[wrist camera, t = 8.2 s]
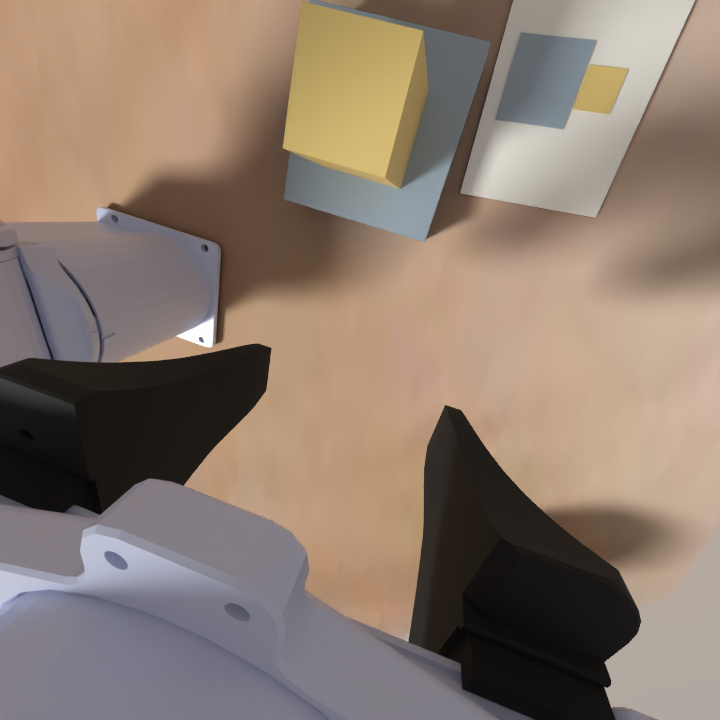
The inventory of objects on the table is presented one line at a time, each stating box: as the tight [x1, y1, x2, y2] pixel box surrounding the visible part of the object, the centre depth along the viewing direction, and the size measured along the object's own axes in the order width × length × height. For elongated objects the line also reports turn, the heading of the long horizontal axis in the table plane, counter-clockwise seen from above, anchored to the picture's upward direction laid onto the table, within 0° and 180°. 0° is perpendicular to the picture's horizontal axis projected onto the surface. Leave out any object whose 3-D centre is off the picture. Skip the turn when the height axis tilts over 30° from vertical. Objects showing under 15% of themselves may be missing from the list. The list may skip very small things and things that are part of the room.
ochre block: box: [283, 1, 429, 189], centre depth 13 cm, size 4×4×5 cm
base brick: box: [283, 0, 491, 242], centre depth 16 cm, size 8×8×2 cm
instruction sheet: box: [460, 0, 695, 218], centre depth 15 cm, size 7×10×1 cm
